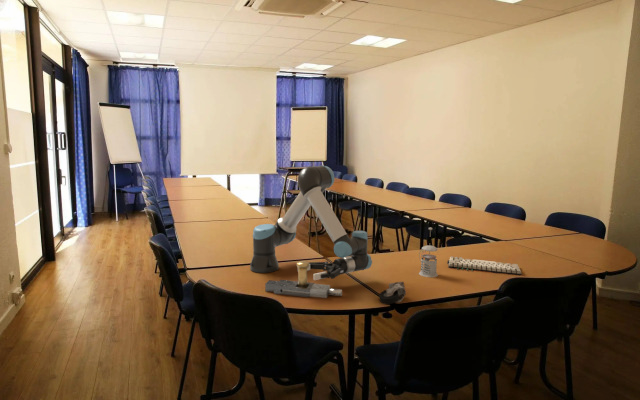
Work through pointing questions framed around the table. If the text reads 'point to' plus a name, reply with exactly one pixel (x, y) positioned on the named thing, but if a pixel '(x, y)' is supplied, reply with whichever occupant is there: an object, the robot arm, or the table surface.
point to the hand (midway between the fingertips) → (305, 273)
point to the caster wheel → (393, 293)
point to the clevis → (301, 289)
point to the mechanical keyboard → (483, 266)
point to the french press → (428, 270)
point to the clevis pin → (302, 273)
